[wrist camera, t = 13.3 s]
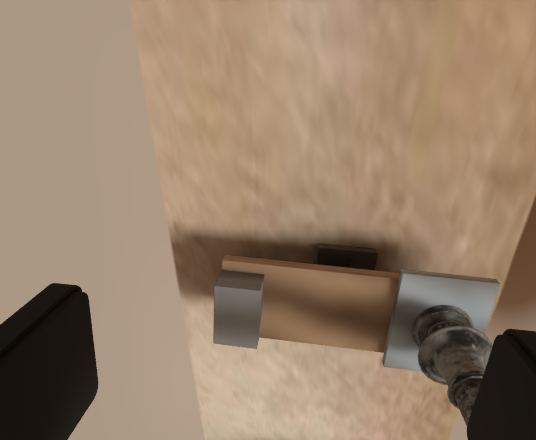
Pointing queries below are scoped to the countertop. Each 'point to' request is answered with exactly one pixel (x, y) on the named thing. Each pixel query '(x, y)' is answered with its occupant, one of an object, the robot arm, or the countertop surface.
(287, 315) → the beam
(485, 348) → the chess piece
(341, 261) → the beam stand
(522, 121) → the countertop surface
